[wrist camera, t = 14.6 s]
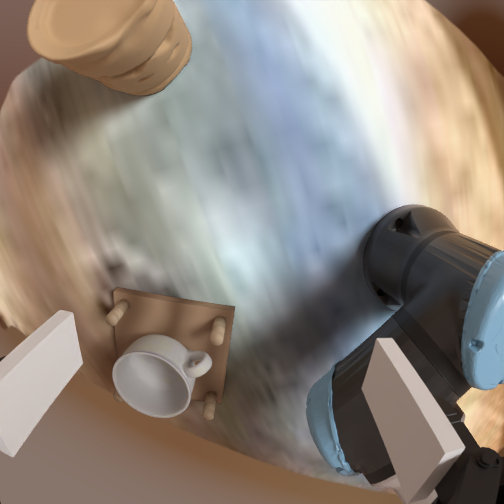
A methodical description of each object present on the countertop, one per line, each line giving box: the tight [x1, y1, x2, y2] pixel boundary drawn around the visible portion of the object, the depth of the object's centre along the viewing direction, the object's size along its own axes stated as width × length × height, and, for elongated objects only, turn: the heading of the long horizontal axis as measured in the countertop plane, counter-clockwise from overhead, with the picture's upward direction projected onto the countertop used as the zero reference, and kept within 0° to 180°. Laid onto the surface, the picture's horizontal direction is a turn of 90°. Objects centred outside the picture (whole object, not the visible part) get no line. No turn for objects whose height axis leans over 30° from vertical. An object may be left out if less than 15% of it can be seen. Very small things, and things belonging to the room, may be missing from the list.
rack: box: [105, 287, 235, 420], centre depth 42 cm, size 17×17×6 cm
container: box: [27, 0, 192, 95], centre depth 25 cm, size 13×13×18 cm
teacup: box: [112, 334, 212, 418], centre depth 40 cm, size 14×11×8 cm
